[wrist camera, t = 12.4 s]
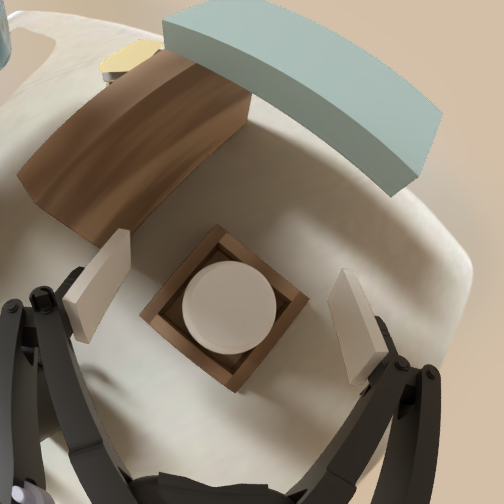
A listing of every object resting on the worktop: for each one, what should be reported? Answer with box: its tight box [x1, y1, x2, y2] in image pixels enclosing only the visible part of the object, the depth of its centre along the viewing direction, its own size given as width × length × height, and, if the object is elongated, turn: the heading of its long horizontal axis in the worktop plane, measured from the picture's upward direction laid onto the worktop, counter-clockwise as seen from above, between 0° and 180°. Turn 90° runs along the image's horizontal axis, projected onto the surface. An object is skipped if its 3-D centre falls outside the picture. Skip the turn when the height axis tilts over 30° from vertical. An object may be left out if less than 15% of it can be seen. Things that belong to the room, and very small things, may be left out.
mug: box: [37, 348, 61, 442], centre depth 14 cm, size 9×12×9 cm
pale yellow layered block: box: [99, 39, 164, 87], centre depth 25 cm, size 10×9×6 cm
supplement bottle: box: [182, 261, 276, 354], centre depth 17 cm, size 5×5×10 cm
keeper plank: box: [162, 0, 443, 197], centre depth 13 cm, size 16×7×2 cm, turn 52°
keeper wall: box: [17, 49, 252, 249], centre depth 19 cm, size 3×19×12 cm, turn 142°
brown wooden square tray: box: [139, 224, 309, 393], centre depth 21 cm, size 10×10×3 cm
